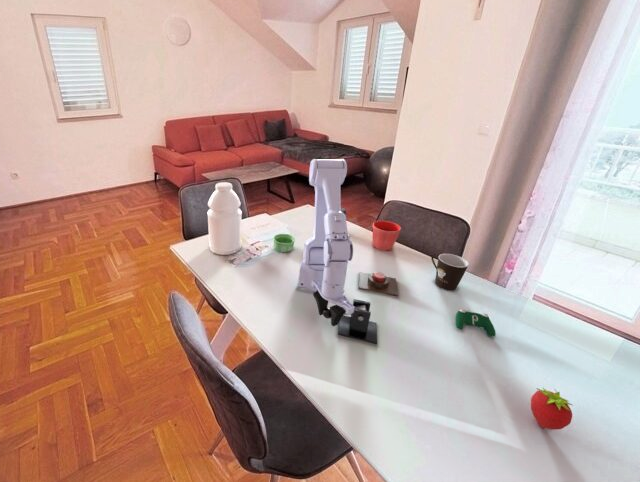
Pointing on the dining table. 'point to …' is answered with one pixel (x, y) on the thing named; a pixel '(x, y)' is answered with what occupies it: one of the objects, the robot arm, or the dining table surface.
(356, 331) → the bracket
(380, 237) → the flower pot
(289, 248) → the ramekin
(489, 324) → the gaming controller
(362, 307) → the lever
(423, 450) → the dining table surface
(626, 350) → the dining table surface
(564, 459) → the dining table surface
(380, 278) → the button
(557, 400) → the strawberry
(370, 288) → the button block
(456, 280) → the coffee mug
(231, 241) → the bottle
